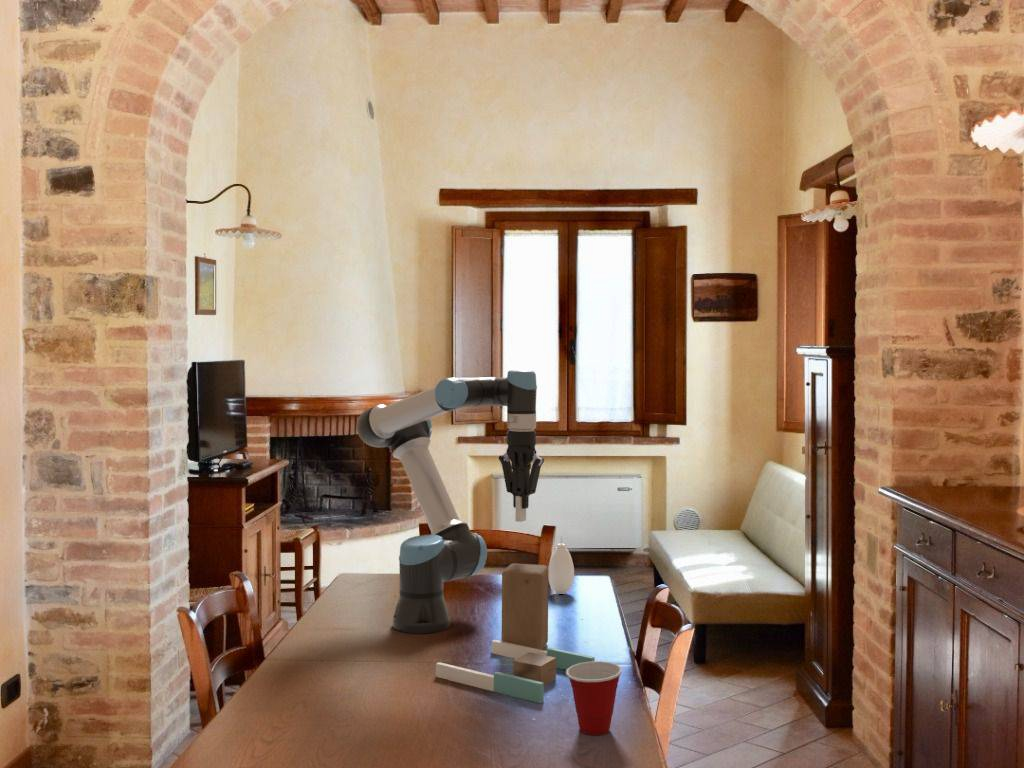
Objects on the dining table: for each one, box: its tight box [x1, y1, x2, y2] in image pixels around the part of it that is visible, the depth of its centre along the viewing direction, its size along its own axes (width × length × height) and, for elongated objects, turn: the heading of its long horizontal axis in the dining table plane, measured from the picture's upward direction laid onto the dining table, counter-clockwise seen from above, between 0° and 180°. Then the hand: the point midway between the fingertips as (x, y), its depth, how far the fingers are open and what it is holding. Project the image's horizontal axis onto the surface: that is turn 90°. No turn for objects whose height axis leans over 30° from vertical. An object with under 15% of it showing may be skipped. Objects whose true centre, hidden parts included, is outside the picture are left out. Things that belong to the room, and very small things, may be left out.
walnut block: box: [512, 653, 557, 687], centre depth 214 cm, size 7×7×5 cm
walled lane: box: [435, 639, 596, 704], centre depth 217 cm, size 28×22×4 cm
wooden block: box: [500, 562, 549, 650], centre depth 237 cm, size 10×10×20 cm
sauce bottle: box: [548, 535, 575, 595], centre depth 291 cm, size 8×8×18 cm
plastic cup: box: [565, 660, 623, 736], centre depth 186 cm, size 11×11×12 cm
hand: (520, 520), depth 249 cm, fingers closed
